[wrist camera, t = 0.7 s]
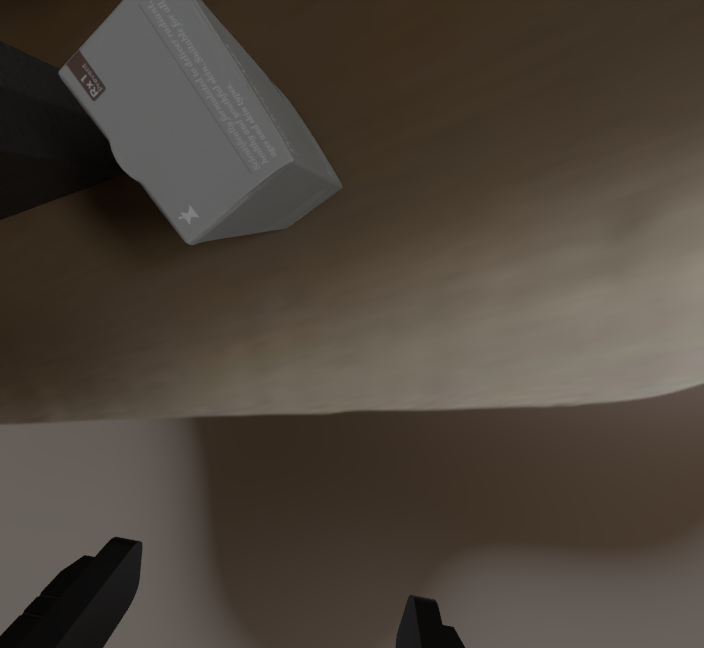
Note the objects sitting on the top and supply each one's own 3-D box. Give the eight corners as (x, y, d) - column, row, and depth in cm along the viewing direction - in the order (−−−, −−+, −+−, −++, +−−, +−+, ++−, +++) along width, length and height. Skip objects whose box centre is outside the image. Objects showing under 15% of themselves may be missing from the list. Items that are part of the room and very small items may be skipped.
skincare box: (344, 187, 28) (318, 159, 13) (278, 235, 30) (186, 258, 15) (285, 91, 26) (172, -76, 11) (217, 147, 27) (36, 68, 12)
